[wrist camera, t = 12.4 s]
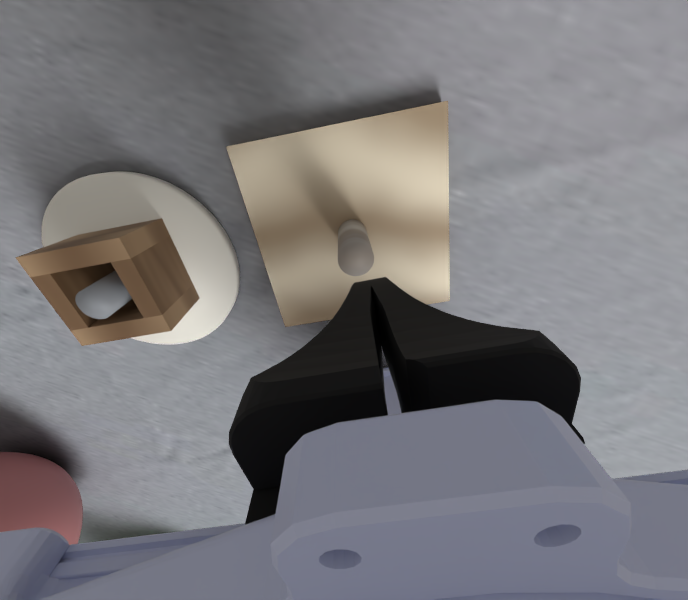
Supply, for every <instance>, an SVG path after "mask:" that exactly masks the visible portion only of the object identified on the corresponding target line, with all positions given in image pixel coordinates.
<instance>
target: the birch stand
mask: <svg viewBox="0 0 688 600" xmlns="http://www.w3.org/2000/svg"><path fill="white" fill-rule="evenodd" d="M226 148H227V151H228V154H229V157H230V160H231V163H232V166H233V169H234V172H235V175H236V178H237V181H238V184H239V187H240V191H241V194H242V197H243V200H244V203H245V206H246V209H247V212H248V215H249V218H250V221H251V224H252V227H253V230H254V233H255V236H256V239H257V242H258V245H259V248H260V251H261V254H262V258H263V261H264V264H265V267H266V270H267V273H268V276H269V279H270V282H271V285H272V288H273V291H274V294H275V297H276V300H277V303H278V306H279V309H280V312H281V315H282V318H283V321H284V325H285V327H288V326H295V325H301V324H307V323H313V322H320V321H326V320H332V319H333V317H334V316H335V314H336V313H337V311H338V310H339V309H340V307H341V305H342V304H343V302H344V300H345V299H346V297H347V295H348V293H349V291H350V288H351V286H352V285H353V283H355V282H360V281H366V280H371V279H377V278H382V277H387V278H388V279H389V280H390V281H392V282H393V283H394V284H395V285H397V286H398V287H399V288H400V289H402V290H403V291H405V292H406V293H408V294H409V295H411V296H412V297H414V298H415V299H417V300H419V301H421V302H423V303H424V304H433V303H439V302H445V301H450V279H449V161H448V101H444V102H439V103H435V104H430V105H425V106H420V107H415V108H410V109H406V110H401V111H396V112H391V113H386V114H382V115H377V116H372V117H367V118H362V119H357V120H353V121H348V122H343V123H338V124H333V125H328V126H324V127H319V128H314V129H309V130H304V131H300V132H295V133H290V134H285V135H280V136H275V137H271V138H266V139H261V140H256V141H251V142H246V143H242V144H237V145H232V146H227V147H226Z"/></svg>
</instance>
